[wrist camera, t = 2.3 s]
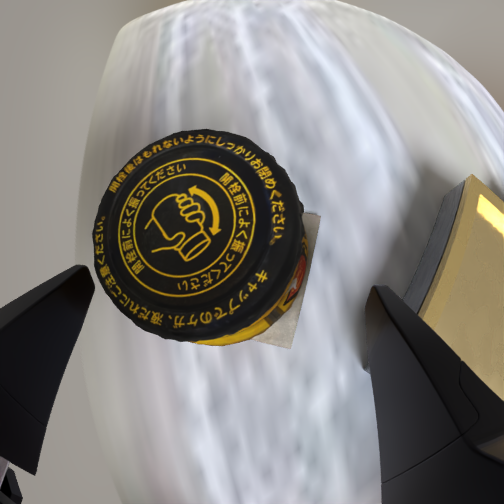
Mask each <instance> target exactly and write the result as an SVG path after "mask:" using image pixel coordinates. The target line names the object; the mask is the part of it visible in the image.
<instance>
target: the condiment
mask: <svg viewBox="0 0 504 504" xmlns="http://www.w3.org/2000/svg"><path fill="white" fill-rule="evenodd" d="M320 218H321V216H318V215H313V214H307V213H304V206H303V204H302V203H301V202H300V201H299V198H298V195H297V191H296V188H295V185H294V184H293V183H292V182H291V180H290V178H289V177H288V174H287V173H286V171H285V169H283V168H282V167H281V166H279V165H278V164H277V163H276V160H275V158H274V157H273V156H272V155H270V154H269V153H267V152H265V151H263V150H262V149H261V148H260V147H259V146H258V145H256V144H255V143H254V142H252V141H251V140H250V139H248V138H246V137H243V136H240V135H236V134H233V133H229V132H225V131H215V130H209V129H200V130H191V131H181V132H178V133H173V134H172V135H169V136H167V137H165V138H163V139H160V140H158V141H156V142H154V143H152V144H150V145H148V146H147V147H145V148H144V149H142V150H141V151H140V152H138V153H137V154H136V155H135V156H134V157H132V158H131V159H130V160H129V161H128V162H127V164H126V165H125V166H124V167H123V168H122V169H121V170H120V171H119V172H118V174H117V175H115V176H114V177H113V179H112V180H111V182H110V184H109V186H108V188H107V190H106V192H105V194H104V196H103V198H102V200H101V203H100V205H99V208H98V213H97V216H96V219H95V223H94V229H93V232H92V236H93V244H94V267H95V271H96V274H97V277H98V279H99V281H100V283H101V285H102V287H103V289H104V291H105V293H106V294H107V295H108V296H109V297H110V299H111V300H112V302H113V303H114V304H115V306H116V307H117V308H118V309H119V310H120V311H121V312H122V313H123V314H124V315H125V316H127V317H128V318H129V319H131V320H132V321H133V322H134V323H135V325H136V326H138V327H140V328H141V329H143V330H144V331H147V332H150V333H153V334H156V335H158V336H160V337H161V338H164V339H172V340H176V341H179V342H185V341H188V342H191V343H196V344H205V345H210V346H225V345H230V344H235V343H240V342H243V341H246V340H250V339H251V340H255V341H259V342H262V343H267V344H271V345H275V346H279V347H283V348H288V349H291V346H292V342H293V338H294V334H295V330H296V326H297V322H298V318H299V314H300V310H301V305H302V301H303V297H304V293H305V289H306V284H307V280H308V276H309V272H310V267H311V262H312V257H313V253H314V248H315V243H316V238H317V233H318V229H319V223H320Z"/></svg>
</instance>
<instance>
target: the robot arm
mask: <svg viewBox="0 0 504 504" xmlns="http://www.w3.org/2000/svg"><path fill="white" fill-rule="evenodd" d="M94 291H95V284H94V281H93V279H92V276H91V274H90V271H89V269H88V267H87V266H85V265H75V266H73V267H71V268H69V269H67V270H66V271H64V272H62V273H60V274H58V275H56V276H55V277H53V278H51V279H49V280H48V281H46V282H44V283H42V284H40V285H39V286H37V287H35V288H34V289H32V290H30V291H28V292H27V293H25V294H23V295H22V296H20V297H18V298H17V299H15V300H13V301H12V302H10V303H8V304H7V305H5V306H4V307H2V308H0V504H21V502H22V499H23V497H22V494H21V492H20V489H19V486H18V482H17V479H16V476H15V473H14V471H13V470H12V469H11V468H9V467H8V466H9V463H10V462H11V463H12V464H14V465H16V466H18V467H19V468H21V469H23V470H25V471H27V472H29V473H30V474H32V475H34V476H35V474H36V471H37V467H38V462H39V457H40V453H41V448H42V444H43V440H44V436H45V432H46V427H47V424H48V421H49V417H50V414H51V410H52V407H53V404H54V401H55V398H56V394H57V392H58V389H59V385H60V383H61V380H62V377H63V374H64V372H65V369H66V366H67V363H68V361H69V358H70V356H71V353H72V350H73V348H74V346H75V343H76V341H77V338H78V336H79V334H80V331H81V329H82V326H83V323H84V320H85V317H86V314H87V311H88V308H89V305H90V302H91V300H92V297H93V294H94ZM365 321H366V334H367V351H368V361H369V368H370V374H371V381H372V387H373V395H374V402H375V410H376V419H377V428H378V439H379V451H380V466H381V483H382V484H381V493H382V504H504V401H503V400H502V399H501V398H500V397H499V396H498V395H497V394H496V393H495V392H493V391H492V390H491V389H490V388H489V387H488V386H487V385H486V384H485V383H484V382H483V381H482V380H481V379H480V378H479V377H478V376H477V375H476V374H475V372H474V371H473V370H472V369H471V368H470V367H469V366H468V365H467V364H466V363H465V362H464V361H463V360H462V361H461V358H460V357H459V356H458V355H457V354H456V353H455V351H454V350H453V349H452V348H451V347H450V346H449V345H448V344H447V343H446V342H445V341H444V340H443V339H442V338H441V337H440V336H439V335H438V334H437V333H436V332H435V331H434V330H433V329H432V328H431V327H430V326H429V325H428V324H427V323H426V322H425V321H424V320H423V319H422V318H421V317H420V316H419V315H418V314H416V313H415V312H414V311H413V310H412V309H411V308H410V307H409V306H408V305H407V304H406V303H405V302H404V301H403V300H402V299H401V298H400V297H399V296H397V295H396V294H395V293H394V292H393V291H392V290H391V289H390V288H389V287H388V286H386V285H373V286H372V288H371V290H370V294H369V297H368V300H367V303H366V306H365Z"/></svg>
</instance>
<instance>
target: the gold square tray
mask: <svg viewBox="0 0 504 504" xmlns="http://www.w3.org/2000/svg"><path fill="white" fill-rule="evenodd" d="M403 301H404V302H405V303H406V304H407V305H408V306H409V307H410V308H411V309H412V310H413V311H414V312H415V313H416V314H418V315H419V316H420V317H421V318H422V319H423V320H424V321H425V322H426V323H427V324H428V325H429V326H430V327H431V328H432V329H433V330H434V331H435V332H436V333H437V334H438V335H439V336H440V337H441V338H442V339H443V340H444V341H445V342H446V343H447V344H448V345H449V346H450V347H451V348H452V349H453V350H454V351H455V353H456V354H457V355H458V356H459V357H460V358H461V361H462V360H463V361H464V362H465V363H466V364H467V365H468V366H469V367H470V368H471V369H472V370H473V371H474V372H475V374H476V375H477V376H478V377H479V378H480V379H481V380H482V381H483V382H484V383H485V384H486V385H487V386H488V387H489V388H490V389H491V390H492V391H493V392H495V393H496V394H497V395H498V396H499V397H500V398H501V399H502V400H503V401H504V201H502V200H501V199H500V198H499V197H498V196H497V195H495V194H494V193H493V192H492V191H491V190H490V189H489V188H488V187H487V186H486V185H484V184H483V183H482V182H481V181H480V180H479V179H478V178H476V177H475V176H474V175H473V174H471V175H470V176H469V177H468V178H466V181H465V180H464V181H463V182H462V183H460V184H459V185H458V186H457V187H455V188H454V189H453V190H452V191H450V192H449V193H448V194H447V195H445V196H444V200H443V203H442V206H441V209H440V212H439V215H438V218H437V221H436V223H435V226H434V229H433V232H432V234H431V237H430V240H429V242H428V245H427V247H426V250H425V252H424V255H423V257H422V259H421V262H420V264H419V266H418V269H417V271H416V273H415V276H414V278H413V280H412V282H411V284H410V286H409V289H408V291H407V293H406V295H405V297H404V299H403ZM364 370H365V371H366V372H368V373H369V374H370V368H369V362H368V364H367V366H366V367H365V369H364Z"/></svg>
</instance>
